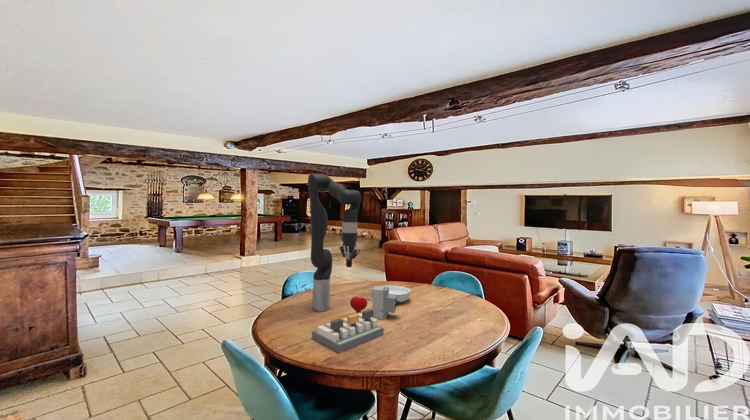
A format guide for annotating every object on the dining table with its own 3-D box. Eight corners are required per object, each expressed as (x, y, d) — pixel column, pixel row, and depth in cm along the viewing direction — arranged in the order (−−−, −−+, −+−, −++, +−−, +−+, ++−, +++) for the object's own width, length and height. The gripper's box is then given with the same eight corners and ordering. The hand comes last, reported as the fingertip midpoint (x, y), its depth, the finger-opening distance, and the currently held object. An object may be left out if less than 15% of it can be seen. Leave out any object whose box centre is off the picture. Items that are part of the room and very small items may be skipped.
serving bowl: (416, 299, 201) (416, 288, 201) (400, 308, 183) (400, 296, 183) (387, 293, 212) (387, 283, 212) (369, 302, 195) (369, 290, 194)
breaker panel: (311, 338, 144) (312, 315, 143) (356, 322, 162) (356, 302, 161) (338, 353, 130) (339, 327, 130) (383, 334, 148) (383, 312, 148)
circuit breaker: (397, 320, 166) (398, 291, 165) (370, 317, 169) (371, 289, 168) (399, 315, 173) (400, 287, 173) (373, 313, 176) (373, 285, 175)
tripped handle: (346, 331, 143) (346, 316, 142) (355, 328, 146) (355, 313, 146) (350, 333, 141) (350, 317, 141) (358, 330, 145) (359, 314, 144)
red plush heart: (369, 315, 173) (369, 296, 172) (364, 319, 166) (364, 300, 166) (352, 312, 176) (353, 294, 175) (347, 317, 169) (347, 298, 169)
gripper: (364, 232, 154) (363, 268, 155) (346, 229, 164) (346, 263, 164) (352, 233, 149) (351, 270, 150) (335, 230, 159) (334, 265, 159)
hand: (348, 266), depth 157 cm, fingers closed
